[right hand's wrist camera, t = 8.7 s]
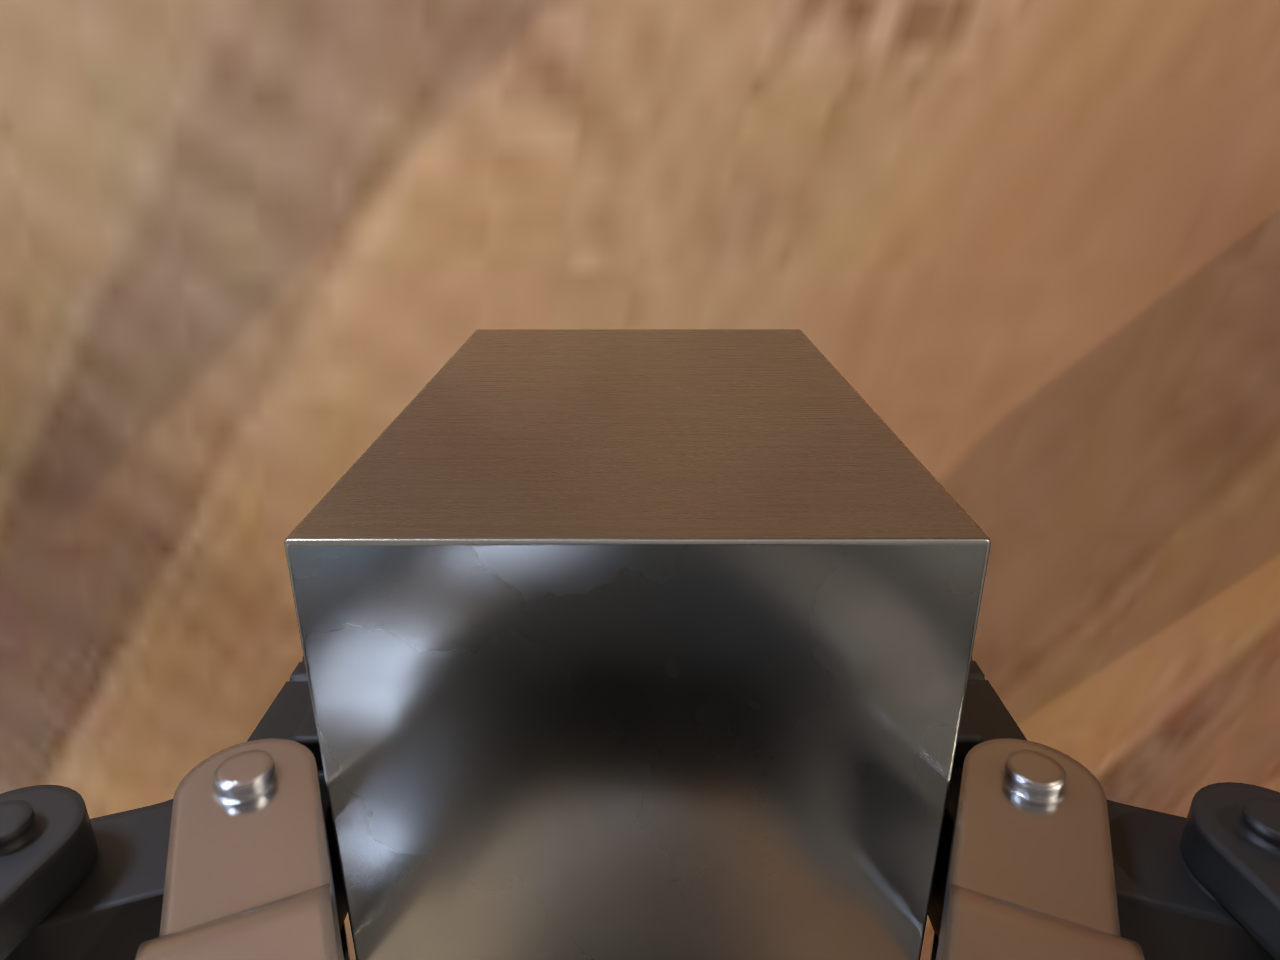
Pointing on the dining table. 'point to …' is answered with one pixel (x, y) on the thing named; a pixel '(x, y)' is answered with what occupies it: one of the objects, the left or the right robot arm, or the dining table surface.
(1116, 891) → the right robot arm
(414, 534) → the bar
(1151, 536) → the dining table surface
